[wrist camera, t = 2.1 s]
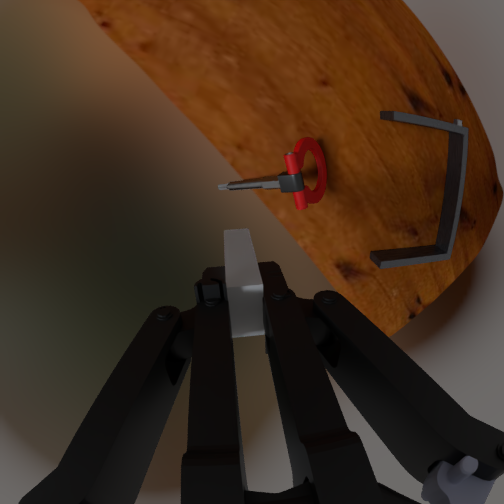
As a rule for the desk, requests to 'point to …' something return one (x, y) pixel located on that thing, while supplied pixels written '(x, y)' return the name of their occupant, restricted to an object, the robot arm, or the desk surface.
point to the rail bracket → (450, 201)
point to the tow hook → (292, 176)
